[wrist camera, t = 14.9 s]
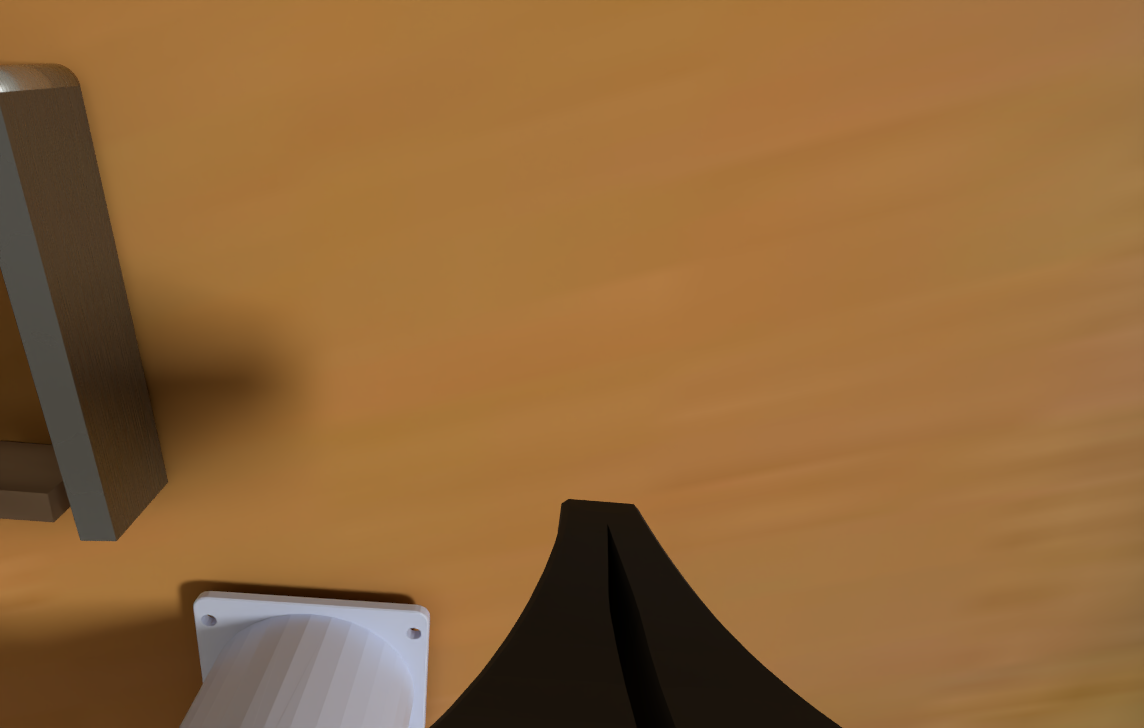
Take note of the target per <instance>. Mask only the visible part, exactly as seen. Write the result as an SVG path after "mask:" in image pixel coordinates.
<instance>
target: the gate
mask: <svg viewBox="0 0 1144 728" xmlns="http://www.w3.org/2000/svg"><path fill="white" fill-rule="evenodd" d="M0 267H1V271H2V274H3V278H4V281H5V284H6V288H7V291H8V295H9V298H10V301H11V305H12V308H13V312H14V315H15V319H16V322H17V325H18V329H19V332H20V336H21V339H22V342H23V346H24V349H25V353H26V356H27V359H28V363H29V366H30V370H31V373H32V377H33V380H34V383H35V387H36V390H37V394H38V397H39V400H40V404H41V407H42V411H43V414H44V417H45V421H46V424H47V428H48V431H49V435H50V438H51V441H52V445H53V448H54V452H55V455H56V458H57V462H58V465H59V469H60V472H61V475H62V479H63V482H64V486H65V489H66V493H67V496H68V499H69V503H70V506H71V510H72V513H73V516H74V520H75V523H76V527H77V530H78V533H79V537H80V540H82V541H117V540H118V539H119V538H120V537H121V535H122V534H123V533H124V532H125V531H126V530H127V529H128V527H129V526H130V525H131V524H132V523H133V522H134V521H135V519H136V518H137V517H138V516H139V515H140V514H141V513H142V511H143V510H144V509H145V508H146V507H147V506H148V505H149V503H150V502H151V501H152V500H153V499H154V498H155V497H156V495H157V494H158V493H159V492H160V491H161V490H162V489H163V487H164V486H165V485H166V484H167V483H168V480H167V475H166V471H165V466H164V462H163V457H162V453H161V448H160V444H159V439H158V435H157V430H156V426H155V421H154V417H153V412H152V408H151V403H150V399H149V394H148V390H147V385H146V381H145V376H144V372H143V367H142V363H141V358H140V354H139V349H138V345H137V340H136V336H135V331H134V327H133V322H132V318H131V313H130V309H129V304H128V300H127V295H126V291H125V286H124V282H123V277H122V273H121V268H120V264H119V259H118V255H117V250H116V246H115V241H114V237H113V232H112V228H111V223H110V219H109V214H108V210H107V205H106V201H105V196H104V192H103V187H102V183H101V178H100V174H99V169H98V165H97V160H96V155H95V151H94V146H93V142H92V137H91V133H90V128H89V124H88V119H87V115H86V110H85V106H84V101H83V97H82V92H81V88H80V84H79V81H78V79H77V77H76V76H75V75H74V73H73V72H72V71H71V70H69V69H68V68H67V67H65V66H63V65H60V64H28V65H0Z"/></svg>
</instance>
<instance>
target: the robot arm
mask: <svg viewBox="0 0 1144 728" xmlns="http://www.w3.org/2000/svg"><path fill="white" fill-rule="evenodd" d="M193 611H194V618H195V626H196V634H197V641H198V649H199V657H200V664H201V672H202V680H203V684H202V686H201V688H200V690H199V692H198V694H197V695H196V697H195V699H194V701H193V703H192V705H191V707H190V708H189V710H188V712H187V714H186V716H185V718H184V719H183V721H182V723H181V725H180V727H179V728H425V718H426V696H427V673H428V651H429V629H430V614H429V611H428V610H427V609H426V608H424V607H423V606H420V605H414V604H399V603H384V602H369V601H354V600H339V599H324V598H309V597H294V596H279V595H264V594H250V593H235V592H220V591H205V592H203V593H200V595H199V596H198V597H197V599H196V600H195V602H194V604H193ZM208 615H212V616H213V617H215V618H212V617H210V616H208ZM410 628H416V629H418V630H419V631H414V630H411V629H410ZM430 728H842V727H840V726H839V725H838V724H836V723H835V722H833V721H832V720H831V719H829V718H828V717H827V716H825V715H824V714H822V713H821V712H820V711H818V710H817V709H816V708H814V707H813V706H812V705H810V704H809V703H808V702H807V701H805V700H804V699H803V698H801V697H800V696H799V695H798V694H796V693H795V692H794V691H793V690H791V689H790V688H789V687H788V686H787V685H786V684H784V683H783V682H782V681H781V680H780V679H779V678H777V677H776V676H775V675H774V674H773V673H772V672H770V671H769V670H768V669H767V668H766V667H765V666H763V665H762V664H761V663H760V662H759V661H758V660H757V659H756V658H755V657H754V656H753V655H752V654H750V653H749V652H748V651H747V650H746V649H745V648H744V647H743V646H742V645H741V644H740V643H739V641H738V640H737V639H736V638H735V637H734V636H733V635H732V634H731V633H730V632H729V631H728V630H727V629H726V628H725V627H724V626H723V625H722V624H721V623H720V622H719V621H718V620H717V618H716V617H715V616H714V615H713V614H712V613H711V611H710V610H709V609H708V608H707V607H706V605H705V604H704V603H703V602H702V601H701V599H700V598H699V597H698V596H697V594H696V593H695V592H694V591H693V589H692V588H691V587H690V585H689V584H688V583H687V581H686V580H685V579H684V577H683V576H682V575H681V573H680V572H679V571H678V569H677V568H676V567H675V565H674V564H673V562H672V561H671V560H670V558H669V557H668V555H667V554H666V552H665V551H664V549H663V548H662V546H661V545H660V543H659V542H658V540H657V539H656V537H655V536H654V534H653V533H652V531H651V530H650V528H649V526H648V525H647V523H646V522H645V520H644V518H643V517H642V515H641V513H640V512H639V510H638V509H637V508H636V506H635V505H634V504H624V503H612V502H599V501H587V500H574V499H568V500H566V501H565V502H564V503H562V505H561V512H560V520H559V527H558V534H557V538H556V541H555V544H554V547H553V549H552V552H551V554H550V557H549V560H548V562H547V565H546V567H545V569H544V572H543V574H542V576H541V578H540V580H539V582H538V584H537V586H536V588H535V590H534V592H533V594H532V596H531V598H530V600H529V602H528V603H527V605H526V607H525V609H524V610H523V612H522V614H521V615H520V617H519V619H518V620H517V622H516V624H515V625H514V627H513V628H512V630H511V631H510V633H509V635H508V636H507V638H506V639H505V640H504V642H503V643H502V645H501V646H500V647H499V649H498V650H497V652H496V653H495V654H494V656H493V657H492V659H491V660H490V661H489V662H488V664H487V665H486V666H485V668H484V669H483V670H482V671H481V673H480V674H479V675H478V676H477V677H476V679H475V680H474V681H473V682H472V683H471V684H470V685H469V687H468V688H467V689H466V690H465V691H464V692H463V693H462V695H461V696H460V697H459V698H458V699H457V700H456V701H455V703H454V704H453V705H452V706H451V707H450V708H449V709H448V710H447V711H446V712H445V713H444V714H443V715H442V716H441V717H440V718H439V719H438V720H437V721H436V722H435V723H434V724H433V725H432V726H431V727H430Z"/></svg>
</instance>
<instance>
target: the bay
mask: <svg viewBox="0 0 1144 728" xmlns="http://www.w3.org/2000/svg"><path fill="white" fill-rule="evenodd" d="M69 507H70V503H69V499H68V496H67V493H66V489H65V486H64V482H63V479H62V475H61V472H60V469H59V465H58V462H57V458H56V455H55V452H54V448H53V445H45V444H33V443H20V442H8V441H0V518H2V519H16V520H30V521H44V522H55V521H56V520H57V519H58V518H59V517H60V516H61V515H62V514H63V513H64V512H65V511H66V510H67V509H68V508H69Z"/></svg>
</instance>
